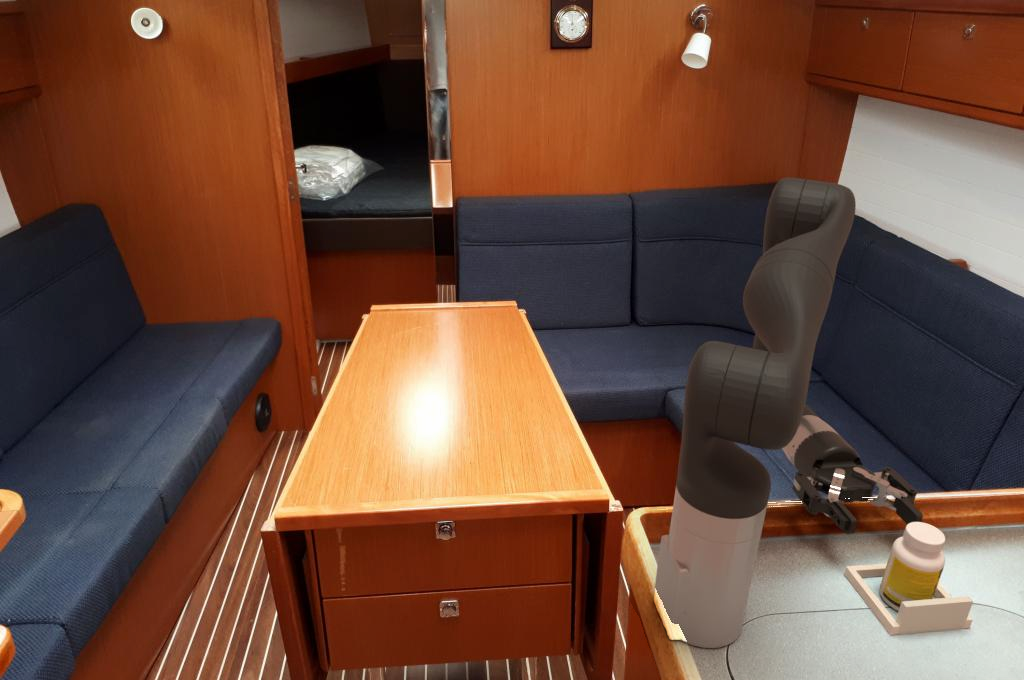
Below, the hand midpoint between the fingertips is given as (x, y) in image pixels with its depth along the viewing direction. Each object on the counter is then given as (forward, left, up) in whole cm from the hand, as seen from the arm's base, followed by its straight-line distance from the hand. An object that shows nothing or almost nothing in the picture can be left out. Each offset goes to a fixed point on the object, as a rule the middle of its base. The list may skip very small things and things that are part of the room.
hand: (886, 526), depth 89 cm
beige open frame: (0, -6, -6) cm, 8 cm away
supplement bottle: (0, -6, -6) cm, 9 cm away
